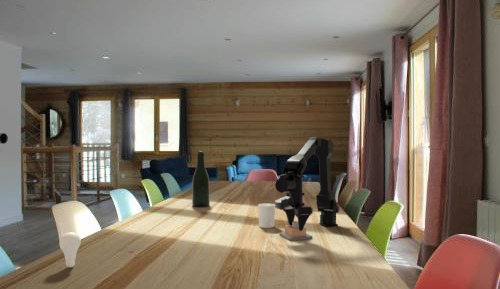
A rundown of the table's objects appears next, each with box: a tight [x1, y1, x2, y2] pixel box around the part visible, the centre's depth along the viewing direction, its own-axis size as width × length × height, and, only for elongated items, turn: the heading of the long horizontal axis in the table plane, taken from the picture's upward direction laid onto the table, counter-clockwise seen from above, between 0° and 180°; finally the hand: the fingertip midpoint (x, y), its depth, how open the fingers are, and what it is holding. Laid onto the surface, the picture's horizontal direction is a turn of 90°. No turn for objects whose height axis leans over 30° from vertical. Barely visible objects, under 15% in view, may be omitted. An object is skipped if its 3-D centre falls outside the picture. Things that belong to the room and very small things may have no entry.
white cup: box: [257, 202, 276, 229], centre depth 182 cm, size 8×8×10 cm
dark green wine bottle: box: [191, 150, 211, 208], centre depth 240 cm, size 10×10×33 cm
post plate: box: [278, 221, 313, 242], centre depth 162 cm, size 10×10×6 cm
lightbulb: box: [58, 231, 82, 269], centre depth 125 cm, size 6×6×11 cm
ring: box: [284, 224, 307, 237], centre depth 162 cm, size 6×6×3 cm
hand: (295, 228), depth 162 cm, fingers open, 9 cm apart
